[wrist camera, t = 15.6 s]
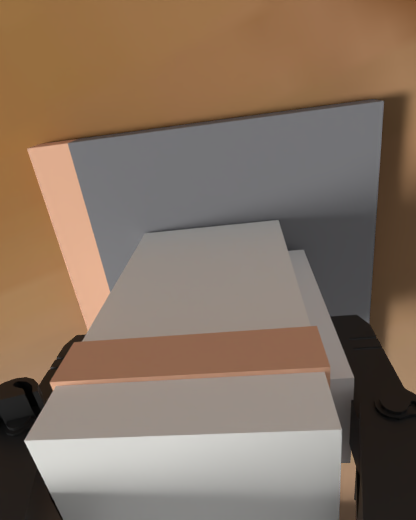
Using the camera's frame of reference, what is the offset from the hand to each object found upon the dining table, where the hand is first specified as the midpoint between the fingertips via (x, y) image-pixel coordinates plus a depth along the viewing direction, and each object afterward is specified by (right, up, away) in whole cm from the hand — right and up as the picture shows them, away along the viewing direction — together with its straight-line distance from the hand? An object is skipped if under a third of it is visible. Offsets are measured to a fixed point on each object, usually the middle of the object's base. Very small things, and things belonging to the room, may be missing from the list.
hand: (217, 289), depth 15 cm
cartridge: (0, 0, 0) cm, 0 cm away
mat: (0, +1, +1) cm, 1 cm away
